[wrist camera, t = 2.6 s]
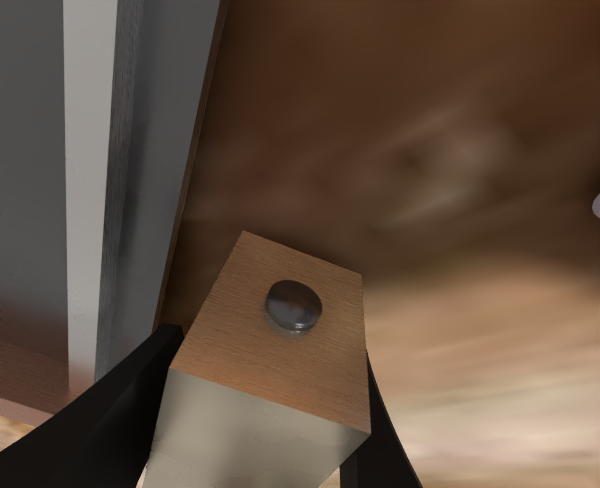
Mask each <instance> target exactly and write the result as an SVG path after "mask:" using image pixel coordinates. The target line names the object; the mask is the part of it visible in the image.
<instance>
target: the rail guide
mask: <svg viewBox="0 0 600 488" xmlns="http://www.w3.org/2000/svg"><path fill="white" fill-rule="evenodd" d="M229 1H230V0H0V416H4V417H7V418H10V419H13V420H16V421H19V422H23V423H26V424H29V425H32V426H35V427H38V426H40V425H41V424H42V423H44V422H45V421H47V420H48V419H49V418H51V417H52V416H53V415H55V414H56V413H58V412H59V411H60V410H62V409H63V408H64V407H66V406H67V405H68V404H70V403H71V402H72V401H73V400H75V399H76V398H77V397H78V396H80V395H81V394H82V393H83V392H85V391H86V390H87V389H88V388H90V387H91V386H92V385H93V384H95V383H96V382H97V381H98V380H100V379H101V378H102V377H103V376H104V375H106V374H107V373H108V372H109V371H110V370H111V369H113V368H114V367H115V366H116V365H117V364H118V363H120V362H121V361H122V360H123V359H124V358H125V357H127V356H128V355H129V354H130V353H131V352H132V351H133V350H134V349H136V348H137V347H138V346H139V345H140V344H141V343H142V342H143V341H144V340H146V339H147V338H148V337H149V336H150V335H151V334H152V333H153V332H155V331H156V330H157V328H158V323H159V319H160V314H161V310H162V305H163V301H164V296H165V292H166V287H167V283H168V278H169V273H170V269H171V264H172V260H173V255H174V251H175V246H176V242H177V237H178V233H179V228H180V224H181V219H182V215H183V210H184V205H185V201H186V196H187V192H188V187H189V183H190V178H191V174H192V169H193V165H194V160H195V156H196V151H197V146H198V142H199V137H200V133H201V128H202V124H203V119H204V115H205V110H206V106H207V101H208V97H209V92H210V87H211V83H212V78H213V74H214V69H215V65H216V60H217V56H218V51H219V47H220V42H221V38H222V33H223V29H224V24H225V19H226V15H227V10H228V6H229Z"/></svg>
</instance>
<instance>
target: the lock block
mask: <svg viewBox="0 0 600 488" xmlns="http://www.w3.org/2000/svg"><path fill="white" fill-rule="evenodd" d="M370 435H371V423H370V406H369V390H368V373H367V356H366V340H365V323H364V306H363V289H362V275H361V274H358V273H356V272H353V271H350V270H348V269H345V268H342V267H340V266H337V265H334V264H332V263H329V262H326V261H324V260H321V259H318V258H316V257H313V256H310V255H308V254H305V253H302V252H300V251H297V250H294V249H292V248H289V247H286V246H284V245H281V244H278V243H276V242H273V241H270V240H268V239H265V238H262V237H260V236H257V235H254V234H252V233H249V232H246V231H244V230H243V231H242V233H241V235H240V237H239V239H238V241H237V243H236V244H235V246H234V248H233V250H232V252H231V254H230V255H229V257H228V259H227V261H226V263H225V265H224V267H223V268H222V270H221V272H220V274H219V276H218V278H217V280H216V281H215V283H214V285H213V287H212V289H211V291H210V293H209V294H208V296H207V298H206V300H205V302H204V304H203V306H202V307H201V309H200V311H199V313H198V315H197V317H196V318H195V320H194V322H193V324H192V326H191V328H190V330H189V331H188V333H187V335H186V337H185V339H184V341H183V343H182V344H181V346H180V348H179V350H178V352H177V354H176V356H175V357H174V359H173V361H172V363H171V365H170V367H169V370H168V374H167V379H166V383H165V388H164V392H163V397H162V401H161V406H160V411H159V415H158V420H157V424H156V429H155V433H154V438H153V442H152V447H151V451H150V456H149V460H148V465H147V469H146V474H145V478H144V483H143V487H142V488H318V487H319V486H320V485H321V484H322V483H323V482H324V481H325V480H326V479H327V478H328V477H329V476H330V475H331V474H332V473H333V472H334V471H335V470H336V469H337V468H338V467H339V466H340V465H341V464H342V463H343V462H344V461H345V460H346V459H347V458H348V457H349V456H350V455H351V454H352V453H353V452H354V451H355V450H356V449H357V448H358V447H359V446H360V445H361V444H362V443H363V442H364V441H365V440H366V439H367V438H368V437H369V436H370Z"/></svg>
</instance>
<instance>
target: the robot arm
mask: <svg viewBox="0 0 600 488" xmlns="http://www.w3.org/2000/svg"><path fill="white" fill-rule="evenodd" d="M592 209H593V213H594V214H595V215H596V216H597V217H599V218H600V193H599V195H598V196H597V197H596V199H595V200H594V202H593V206H592ZM183 341H184V335H183V331H182V327H181V325H173V324H163V325H161V326H160V327H159V328H158V329H157V330H156V331H155V332H153V333H152V334H151V335H150V336H149V337H148V338H147V339H146V340H144V341H143V342H142V343H141V344H140V345H139V346H138V347H137V348H136V349H134V350H133V351H132V352H131V353H130V354H129V355H128V356H127V357H125V358H124V359H123V360H122V361H121V362H120V363H118V364H117V365H116V366H115V367H114V368H113V369H111V370H110V371H109V372H108V373H107V374H106V375H104V376H103V377H102V378H101V379H100V380H98V381H97V382H96V383H95V384H93V385H92V386H91V387H90V388H88V389H87V390H86V391H85V392H83V393H82V394H81V395H80V396H78V397H77V398H76V399H75V400H73V401H72V402H71V403H70V404H68V405H67V406H66V407H64V408H63V409H62V410H60V411H59V412H58V413H56V414H55V415H53V416H52V417H51V418H49V419H48V420H47V421H45V422H44V423H42V424H41V425H40V426H38V427H37V428H35V429H34V430H32V431H31V432H30V433H28V434H27V435H25V436H24V437H22V438H21V439H19V440H18V441H16V442H15V443H13V444H12V445H10V446H8V447H7V448H5V449H4V450H2V451H1V452H0V488H136V485H137V483H138V480H139V478H140V476H141V474H142V472H143V469H144V467H145V465H146V463H147V461H148V459H149V456H150V451H151V447H152V442H153V438H154V433H155V429H156V424H157V420H158V415H159V411H160V406H161V401H162V397H163V392H164V388H165V383H166V379H167V374H168V370H169V367H170V365H171V363H172V361H173V359H174V357H175V356H176V354H177V352H178V350H179V348H180V346H181V344H182V343H183ZM366 356H367V373H368V390H369V406H370V423H371V435H370V436H369V437H368V438H367V439H366V440H365V441H364V442H363V443H362V444H361V445H360V446H359V447H358V448H357V449H356V450H355V451H354V452H353V453H352V454H351V455H350V456H349V457H348V458H347V459H346V460H345V461H344V462H343V463H342V464H341V465H340V487H341V488H423V487H422V485H421V483H420V481H419V479H418V477H417V475H416V473H415V471H414V469H413V467H412V465H411V463H410V461H409V459H408V457H407V455H406V453H405V451H404V449H403V447H402V444H401V442H400V440H399V438H398V436H397V434H396V431H395V429H394V427H393V424H392V422H391V420H390V417H389V415H388V412H387V410H386V407H385V405H384V402H383V400H382V397H381V395H380V392H379V389H378V386H377V383H376V380H375V378H374V374H373V371H372V368H371V364H370V361H369V357H368V353H367V349H366Z"/></svg>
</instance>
